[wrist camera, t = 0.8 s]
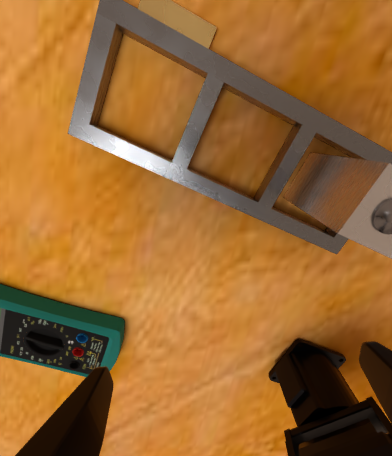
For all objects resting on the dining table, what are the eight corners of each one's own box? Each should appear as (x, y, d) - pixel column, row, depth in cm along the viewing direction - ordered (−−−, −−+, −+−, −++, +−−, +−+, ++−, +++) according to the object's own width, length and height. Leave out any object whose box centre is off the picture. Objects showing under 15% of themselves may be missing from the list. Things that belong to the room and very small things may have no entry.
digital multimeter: (114, 362, 27) (106, 388, 25) (-21, 328, 25) (-47, 352, 22) (132, 316, 25) (124, 338, 22) (-16, 274, 23) (-45, 292, 20)
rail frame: (405, 140, 18) (423, 140, 17) (327, 246, 22) (336, 254, 20) (118, -28, 14) (110, -45, 13) (77, 133, 18) (67, 133, 16)
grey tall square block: (350, 173, 19) (453, 197, 12) (321, 215, 20) (397, 261, 13) (310, 152, 19) (391, 163, 11) (283, 197, 20) (339, 234, 12)
